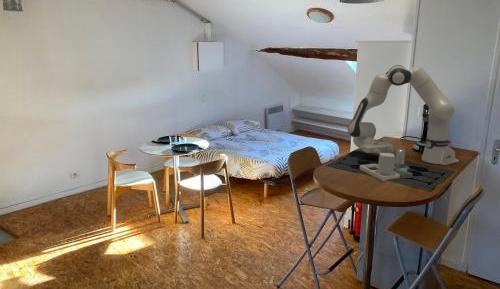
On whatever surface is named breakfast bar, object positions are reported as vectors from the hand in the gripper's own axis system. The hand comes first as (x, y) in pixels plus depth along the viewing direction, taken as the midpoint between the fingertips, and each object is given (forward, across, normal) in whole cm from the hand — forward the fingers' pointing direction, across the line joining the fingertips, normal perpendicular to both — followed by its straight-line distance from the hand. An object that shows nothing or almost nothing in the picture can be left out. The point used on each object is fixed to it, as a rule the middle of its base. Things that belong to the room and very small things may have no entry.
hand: (386, 151), depth 237 cm
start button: (+25, -8, +7) cm, 27 cm away
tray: (+12, 0, +7) cm, 14 cm away
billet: (+12, 0, +7) cm, 14 cm away
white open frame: (+16, -17, +8) cm, 25 cm away
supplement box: (+21, -17, +8) cm, 28 cm away
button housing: (+25, -8, +7) cm, 27 cm away
